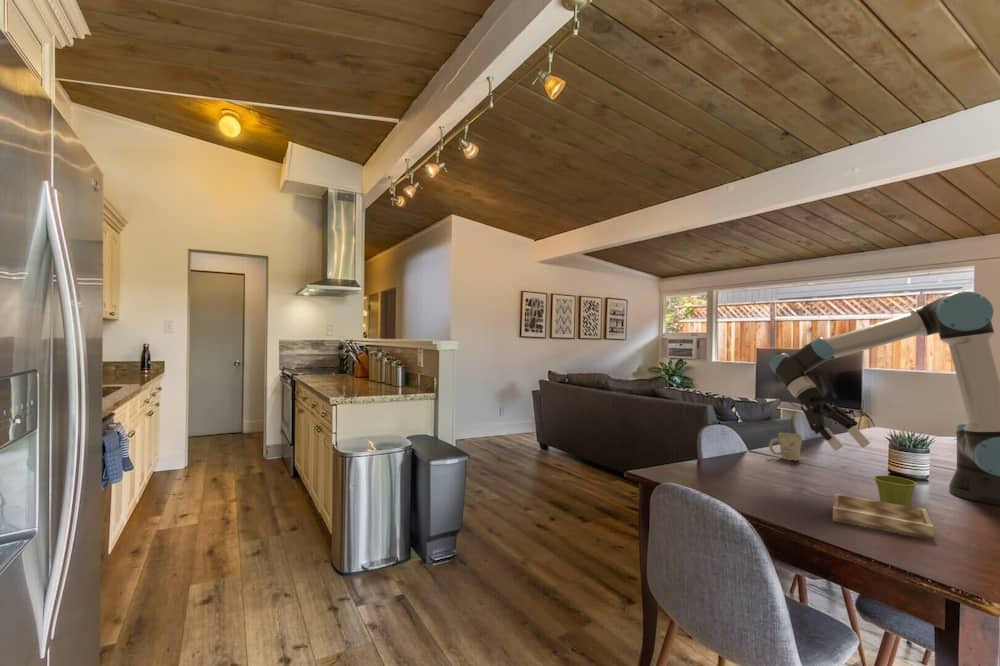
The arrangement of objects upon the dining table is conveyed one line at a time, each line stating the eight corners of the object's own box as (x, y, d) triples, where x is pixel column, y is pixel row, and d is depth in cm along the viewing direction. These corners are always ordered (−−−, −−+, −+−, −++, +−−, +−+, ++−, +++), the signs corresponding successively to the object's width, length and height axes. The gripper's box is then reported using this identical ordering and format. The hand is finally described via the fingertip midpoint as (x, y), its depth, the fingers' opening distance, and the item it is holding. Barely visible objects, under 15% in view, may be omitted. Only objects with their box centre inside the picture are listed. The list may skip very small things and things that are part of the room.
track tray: (925, 522, 125) (925, 509, 125) (933, 541, 113) (933, 526, 113) (834, 505, 137) (834, 493, 138) (832, 520, 126) (832, 507, 126)
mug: (806, 461, 188) (806, 437, 188) (775, 461, 188) (775, 436, 188) (794, 456, 196) (794, 433, 196) (764, 456, 196) (764, 432, 197)
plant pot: (905, 518, 128) (905, 486, 129) (866, 506, 137) (866, 477, 137) (923, 513, 132) (923, 482, 132) (885, 502, 141) (885, 473, 141)
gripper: (821, 398, 166) (867, 450, 152) (773, 400, 156) (817, 456, 142) (837, 385, 161) (886, 437, 147) (789, 386, 152) (836, 442, 138)
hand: (853, 447), depth 145 cm, fingers open, 13 cm apart
